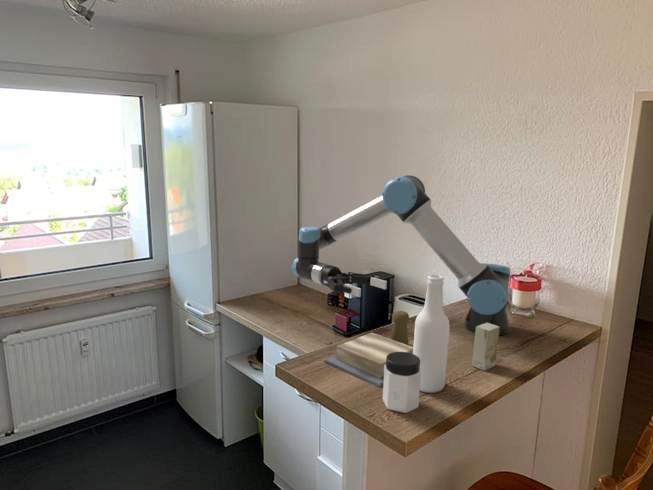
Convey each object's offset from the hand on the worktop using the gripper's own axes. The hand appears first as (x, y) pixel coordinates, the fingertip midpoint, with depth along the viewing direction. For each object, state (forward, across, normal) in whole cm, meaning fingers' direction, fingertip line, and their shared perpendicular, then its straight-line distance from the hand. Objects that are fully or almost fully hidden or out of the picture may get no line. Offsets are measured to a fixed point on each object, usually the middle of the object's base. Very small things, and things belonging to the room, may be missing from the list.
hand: (373, 289), depth 162 cm
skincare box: (+37, -6, -16) cm, 41 cm away
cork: (+11, 0, -16) cm, 20 cm away
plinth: (+14, +16, -16) cm, 27 cm away
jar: (+33, +30, -16) cm, 47 cm away
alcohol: (+33, +17, -16) cm, 40 cm away
